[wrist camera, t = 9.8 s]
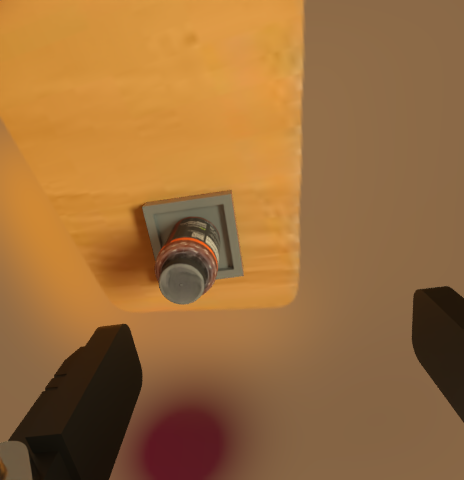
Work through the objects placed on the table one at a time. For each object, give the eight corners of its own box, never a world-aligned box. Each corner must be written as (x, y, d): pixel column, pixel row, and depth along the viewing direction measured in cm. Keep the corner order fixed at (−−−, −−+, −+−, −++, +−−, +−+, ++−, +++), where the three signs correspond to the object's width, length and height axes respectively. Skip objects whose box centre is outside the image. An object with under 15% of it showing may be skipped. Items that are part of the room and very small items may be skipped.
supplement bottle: (176, 265, 41) (154, 319, 30) (165, 219, 39) (137, 258, 28) (225, 258, 40) (220, 310, 30) (216, 211, 38) (207, 248, 28)
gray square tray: (146, 202, 39) (141, 206, 37) (231, 190, 39) (231, 193, 37) (165, 278, 43) (161, 286, 41) (243, 268, 42) (243, 275, 40)
